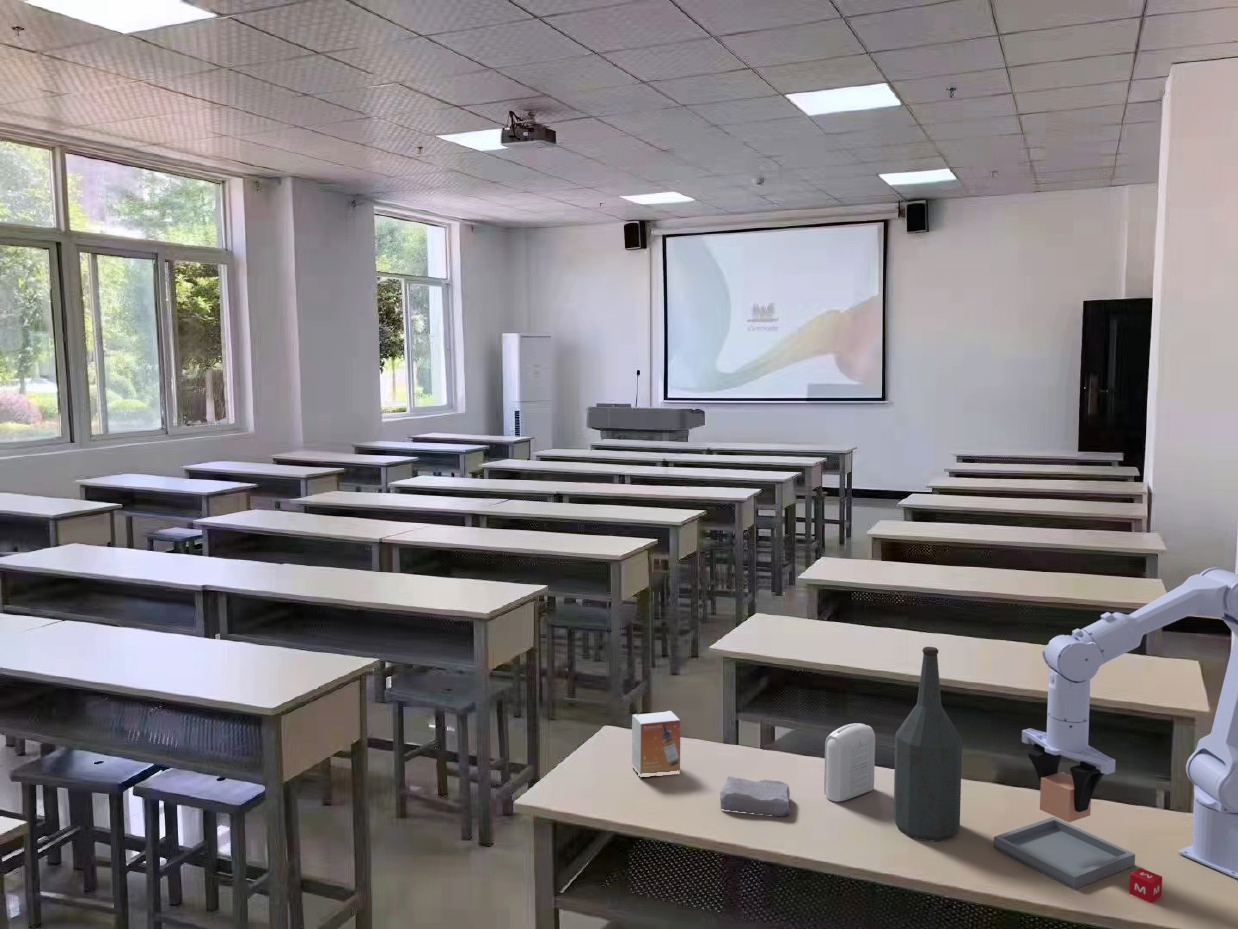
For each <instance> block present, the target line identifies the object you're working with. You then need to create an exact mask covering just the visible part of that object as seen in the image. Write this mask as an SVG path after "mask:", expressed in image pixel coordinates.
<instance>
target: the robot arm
mask: <svg viewBox="0 0 1238 929" xmlns="http://www.w3.org/2000/svg"><path fill="white" fill-rule="evenodd" d="M1193 614H1194V615H1195V614H1199V615H1204V616H1212V617H1220V618H1221V619H1222V621H1223V622H1224V623H1225V624H1226V625H1227V626H1228V628H1229V629H1230V631H1231V632H1232V633H1233V634H1234V640H1233V643H1232V646H1231V651H1230V654H1229V659H1228V663H1227V667H1226V671H1225V674H1224V675H1225V676H1224V679H1223V683H1222V687H1221V691H1220V695H1219V699H1218V703H1217V707H1216V712H1215V716H1214V720H1213V724H1212V727H1211V728H1212V729H1211V732H1210V733H1209V734H1207V735H1205V736H1204V737H1202V738H1200V739H1199V740H1198V742H1197V746H1196V749H1195V751H1194V752H1193V753H1192V754H1191V755H1190V756H1189V758H1188V759H1187V762H1186V764H1185V771H1186V772H1185V773H1186V775H1187V777H1188V780H1189V781H1190V782H1191V783H1192V784H1193V797H1194V798H1193V815H1192V831H1191V832H1192V834H1191V844H1190V845H1188V846H1185V847H1183V848H1181V849H1178V853H1179V855H1182V856H1184V857H1187V858H1188V859H1190V860H1193V861H1196V862H1197V863H1200V864H1202V865H1205V866H1207V867H1209V868H1212V869H1215V870H1217V871H1219V872H1221V873H1223V874H1225V875H1228V876H1230V877H1232V878H1235V879H1237V880H1238V574H1237V573H1235V572H1232V571H1229V570H1228V569H1225V568H1222V567H1217V566H1215V567H1209V568H1206V569H1204V570H1203V571H1202V572H1200V573H1199V574H1198V573H1196V574H1193V575H1191V576H1189V577H1188V578H1187V579H1186V580H1185V581H1184V582H1183V583H1182V584H1181V585H1179V586H1177V587H1176V588H1174V589H1172V590H1170V591H1169V592H1167V593H1165V594H1163V595H1162V596H1160V597H1157V598H1156V599H1155V600H1152V601H1151V602H1149V603H1147V604H1145V605H1144V606H1142V607H1140V608H1138V609H1137V610H1135V611H1133V612H1132V613H1129V614H1126V613H1125V614H1124V613H1122V612H1113V613H1110V612H1109V611H1107V612H1105V613H1103V614H1100V618H1101V619H1099V620H1097V621H1096V622H1093V623H1091V624H1089V625H1086V626H1085V627H1083V628H1081V629H1080V628H1076V629H1073V630H1072V631H1071V633H1072V634H1071V635H1069V634H1066V635H1065V634H1059V635H1056V636H1055V637H1053V638H1052V639H1051V640H1049V641H1048V644H1046V646H1045V648H1044V650H1042V652H1041V654H1042V659H1043V661H1044V663H1045V664H1046V665H1047V667H1048V685H1047V686H1048V688H1047V711H1046V712H1047V714H1046V715H1047V716H1046V732H1045V731H1041V730H1037V729H1034V728H1027V729H1023V730H1021V742H1022V743H1024V744H1027V745H1029V744H1031V745H1033V747H1032V749H1030V750H1028V751H1027V756H1028V759H1030V761H1031V763H1032V766H1033V768H1034V770H1035V771H1036V775H1037V778H1038V780H1039V785H1040V787H1041V778H1043V777H1046V776H1049V775H1053V774H1056V773H1059V772H1058V770H1059V765H1060V761H1061V758H1062V757H1065V758H1067V759H1070V760H1073V761H1075V762H1077V763H1079V764H1077V765H1074V766H1070V767H1069V770H1070V775H1072V778H1073V783H1074V806H1075V811H1077V812H1082V811H1085V810H1088V806H1089V803H1090V800H1091V801H1092V796H1093V794H1094V792H1095V789H1096V787H1097V785H1098V784H1099V782H1100V781H1101V780H1102V778H1103V776H1104V775H1106V776H1107V775H1111V774H1113V773H1114V774H1115V772H1116V759H1114V758H1112V757H1110V756H1108V755H1106V754H1104V753H1103V752H1101V751H1099V750H1098V749H1095V748H1094V747H1092V746H1090V745H1089V729H1090V727H1089V726H1090V703H1091V702H1090V701H1091V700H1090V699H1091V680H1092V679H1093V678H1094V677H1095V676H1096V674H1098V671H1099V668H1100V667H1102V665H1104V664H1106V663H1109V662H1111V661H1112V660H1113V659H1116V658H1119V657H1120V656H1122V655H1125V654H1126V653H1128V652H1131V651H1132V650H1135V649H1137V648H1138V647H1140V645H1141V644H1142V643H1141V642H1142V640H1143V636H1144V635H1146V634H1149V633H1151V632H1154V631H1156V630H1158V629H1160V628H1163V627H1165V626H1168V625H1170V624H1172V623H1175V622H1176V621H1179V620H1181V619H1185V618H1187V617H1188V616H1191V615H1193Z"/></svg>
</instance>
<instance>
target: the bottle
mask: <svg viewBox="0 0 1238 929" xmlns="http://www.w3.org/2000/svg"><path fill="white" fill-rule="evenodd" d="M922 653H923V656H922V663H921V670H920V679H919V686H918V694H917V701H916V704H915V706H914V707H913V708H912V710H911V711H910V713H909V714H908V716H906V718H905V719H904V720H903V722H902V724H901V725H900V726H899V728H898V729H897V731H896V733H895V736H894V737H895V738H894V779H893V780H894V783H893V785H894V786H893V820H894V824H895V825H896V827H897V829H898V830H900V831H901V832H903V833H904V834H905V835H907V836H909V837H911V838H914V839H917V840H923V841H930V840H933V842H942V841H946V840H949V839H953V837H954V836H955V835H956V833H958V832H957V831H958V829H959V828H960V826H961V799H962V798H961V797H962V796H961V795H962V794H961V793H962V792H961V791H962V763H963V762H962V760H963V759H962V758H963V757H962V756H963V755H962V754H963V752H962V751H963V738H962V737H961V735H960V734H959V732H958V730H957V728H956V727H955V725H954V724H953V722H952V720H951V719H950V717H949V715H948V714H947V712H946V710H945V709H944V707H943V705H942V697H941V684H940V672H939V660H938V654H939V649H938V647H934V646H924V647H923V648H922Z"/></svg>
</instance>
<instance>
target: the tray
mask: <svg viewBox="0 0 1238 929" xmlns="http://www.w3.org/2000/svg"><path fill="white" fill-rule="evenodd" d="M993 849H995V850H997V851H998V852H1000V853H1002V854H1004V855H1007V856H1009V857H1011V858H1013V859H1014V860H1016V861H1018V862H1021V863H1022V864H1024V865H1026V866H1028V867H1030V868H1032V869H1033V870H1035V871H1038V872H1039V871H1040V872H1039V873H1042V874H1044V875H1045V876H1047V877H1049V878H1051V879H1053V880H1055V881H1057V882H1058V883H1060V884H1062V885H1065V886H1067V887H1069V888H1071V889H1073V890H1076V889H1079V888H1081V887H1084V886H1086V885H1089V884H1091V883H1094V882H1096V881H1099V880H1102V879H1105V878H1107V877H1110V876H1112V875H1114V873H1115V874H1116V873H1120V872H1121V871H1124V870H1127V869H1130V868H1132V867H1135V864H1136V853H1134V852H1132V851H1130V850H1127V849H1125V848H1122V847H1121V846H1118V845H1116V844H1114V843H1112V842H1110V841H1107V840H1105V839H1104V838H1103V839H1102V838H1101V837H1098V836H1096V835H1094V834H1091V833H1090V832H1087V831H1085V830H1083V829H1081V828H1079V827H1077V826H1074V825H1072V824H1069V822H1066V821H1064V820H1062V819H1060V818H1058V817H1055V816H1052V817H1048V818H1045V819H1043V820H1041V821H1036V822H1034V823H1031V824H1028V825H1025V826H1022V827H1019V828H1016V829H1013V830H1009V831H1006V832H1004V833H1002V834H1001V833H1000V834H998V835H995V836H994V837H993ZM1104 877H1105V878H1104Z"/></svg>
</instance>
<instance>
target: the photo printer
mask: <svg viewBox="0 0 1238 929" xmlns="http://www.w3.org/2000/svg"><path fill="white" fill-rule="evenodd" d="M875 754H876V735H875V731H874V729H873V728H872V727H871V726H870V725H868V724H867V725H866V724H865V723H860V722H859V723H855V722H854V723H849V724H845V725H843V726H841V727H838V728H837V729H836V730H833V731H832V732H831V733H830V734H829V735H828V736H827V737H826V739H825V741H824V771H823V772H824V779H823V782H824V783H823V786H824V787H823V791H824V795H825V797H826V798H827V800H829V801H832V802H837V803H838V802H843V801H847V800H850V799H852V798H855V797H859V796H861V795H864V794H866V793H869V792H871V791H873V790H874V789H875V767H876V766H875V764H876V763H875V758H876V755H875Z"/></svg>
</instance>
